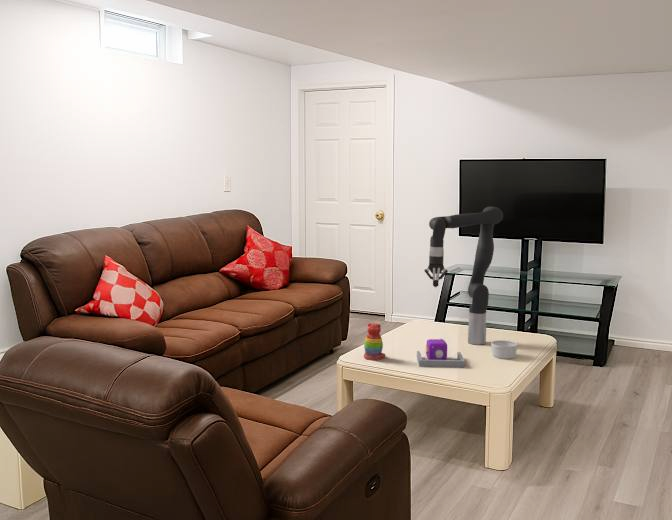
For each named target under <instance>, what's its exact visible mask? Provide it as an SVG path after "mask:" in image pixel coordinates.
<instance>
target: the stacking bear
mask: <svg viewBox="0 0 672 520" xmlns="http://www.w3.org/2000/svg"><path fill="white" fill-rule="evenodd" d="M381 327H382V326H381V324H380V323H375V322H373V323H367V333H368V334H367V335H366V337H365V338H364V339H365V340H364V345H363V346H364V347H363V348H364V354H363V358H364V359H365V360H368V361H380V360H383V359H384V358H386V356H387V355H386V354H385V352H383V349H384V347H383V346H384V342H383V338H382V335H381V334H380V333H381V329H382V328H381Z"/></svg>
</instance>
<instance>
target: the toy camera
mask: <svg viewBox="0 0 672 520" xmlns="http://www.w3.org/2000/svg"><path fill="white" fill-rule="evenodd" d="M425 354H426V358H427V360H448V344H447V342H446V340H444V339H443V338H440V337H439V338H438V339H436V338H435V339H433V338H431V339H427V340H426V345H425Z"/></svg>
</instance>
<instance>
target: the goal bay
mask: <svg viewBox="0 0 672 520" xmlns="http://www.w3.org/2000/svg"><path fill="white" fill-rule="evenodd" d="M456 357H457V359H456V360H455V359H447V360H429V359H423V357H422V353H421V351H419V350H418V351H416V360H417V363H418V366H419V367H435V368H436V367H437V368H465V366H466V365H465V364H466V361H465V358H464V357H463V354H462V353H461V352H460V351H457V354H456Z"/></svg>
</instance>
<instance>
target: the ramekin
mask: <svg viewBox="0 0 672 520" xmlns="http://www.w3.org/2000/svg"><path fill="white" fill-rule="evenodd" d="M490 345H491V354H492V356H493V357H494V358H497V359H503V360H511V359H510V358H512V359H514V358H515V357H516V356H517V350H518V347H519V346H518V342H517V343H516V342H515V341H511V340H505V339H504V340H502V339H501V340H500V339H499V340H497V339H496V340H492V341H491V343H490Z"/></svg>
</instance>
